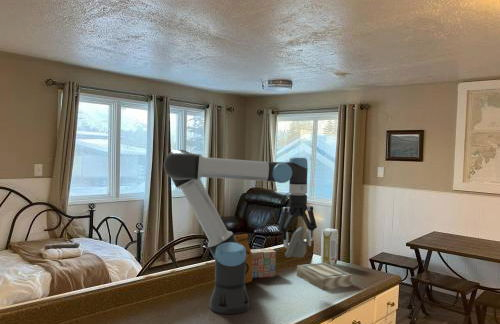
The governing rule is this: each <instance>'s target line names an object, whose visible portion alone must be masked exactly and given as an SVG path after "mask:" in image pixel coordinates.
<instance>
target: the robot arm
mask: <svg viewBox="0 0 500 324" xmlns="http://www.w3.org/2000/svg"><path fill="white" fill-rule="evenodd" d="M308 167H309V165H308V158H306V157H290V158H289V161H263V160H262V161H261V160H250V159H249V160H246V159H234V158H233V159H232V158H219V157H218V158H217V157H205V156H202V155H201V153H200V154H199V153H191V152H189V151H187V150H184V149H176V150H173V151H171V152H169V153H168V154H167V155H166V157H165V158H164V162H163V168H164V169H163V170H164V172H165V174H166V175H167V176H168V177H169V178H170V179H171V180H172V182H173V184H174V185H175V188H177V189H180V190H181V191H182V193H183V194H184V196H185V198H186V201H187V202H188V204H189V206H190V207H191V209H192V211H193V213H194V215H195V216H196V219H197V221H198V222H199V224H200V226H201V228H202V230H203V232H204V234H205V235H206V237H207V239H208V243H207V247H208V249H209V251H210V254H211V255H212V257H213V259H214V287H213V291H212V294H211V296H210V299H209V309H210V310H211V311H213V312H215V313H218V314H224V315H235V314H241V313H242V314H243V313H245V312H246V311H248V310H249V309H250V299H249V295H248V293H247V292H248V291H247V288H246V283H245V269H246V249H245V247H244V246H243V245H241V244H239V243H238V242H237V240H236V238H235V236H236V235H234V233H233V231H230V230H228V229H227V227H226V225H225V223H224V221H223V220H222V218H221V216H220V214H219V212H218V210H217V209H216V206H215V204H214V203H213V201H212V199H211V197H210V195H209V193H208V192H207V189H206V188H205V185H204V184H203V181H202V180H201V179H202V178H212V179H226V180H244V181H255V182H256V181H259V182H270V183H271V182H272V183H273V182H274V183H279V184H285V183H288V182H289V184H288V185H289V187H288V191H289V192H288V193H289V194H288V207H287V206H283V207H281V208H282V209H281V211H282V212H281V216H280V220H279V223H278V227H277V230H278V231H280V232H281V239H282V240H283V248H285V249H287V248H288V245H289V232H288V229H289V228H290V226H291V224H292V222H293V221H294V219H295V218H296V217H301V218H302V220H303V222H304V224H305V226H306V227H307V228H306V230H305V231H306V232H305V233H306V234H305V237H306V238H305V242H306V244H307V246H309V247H311V246H312V238H313V232H314V231H315V229H317V228H318V225H317V222H316V218H315V214H314V206H312V205H308V195H307V193H308V172H309V171H308V170H309V168H308ZM307 205H308V206H307Z"/></svg>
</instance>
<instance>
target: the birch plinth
mask: <svg viewBox="0 0 500 324" xmlns="http://www.w3.org/2000/svg"><path fill="white" fill-rule="evenodd" d="M296 276H297V277H299V278H300V279H302V280H304V281H306V283H307V282H308V283H309V284H311V285H312V286H314V287H316V288H318V289H320V290H322V291H327V290H332V289H333V290H334V289H341V288H348V287H352V286H353V274H352V273H349V272H348V271H347V272H346V271H345V270H343V269H340V268H338V267H336V266H331V265H329V264H327V263H321V262H316V263H308V264H299V265H298V264H297V265H296Z"/></svg>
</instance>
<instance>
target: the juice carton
mask: <svg viewBox="0 0 500 324" xmlns="http://www.w3.org/2000/svg"><path fill="white" fill-rule="evenodd" d="M320 237H321V239H320V240H321V244H320V245H321V246H320V263H327V264H329V265H331V266H333V267H335V265H337V264H338V255H339V253H338V252H339V230H338V229H337V228H329V227H327V228H325V229H322V230H321V236H320Z"/></svg>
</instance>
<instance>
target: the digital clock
mask: <svg viewBox="0 0 500 324" xmlns="http://www.w3.org/2000/svg"><path fill="white" fill-rule="evenodd" d="M305 231H306V230H305V228H304V227H303V226H301V227H298V228H297V229H296V230H295V231H294V232H293V233H292V234H291V238H290V239H289V242H288V248H286V251H285V253H284V256H285V257H286V258H289V259H290V258H304V256H305V255H306V253H307V246H308V245H307V244H306V240H304V238H303V236H304V234H305Z"/></svg>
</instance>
